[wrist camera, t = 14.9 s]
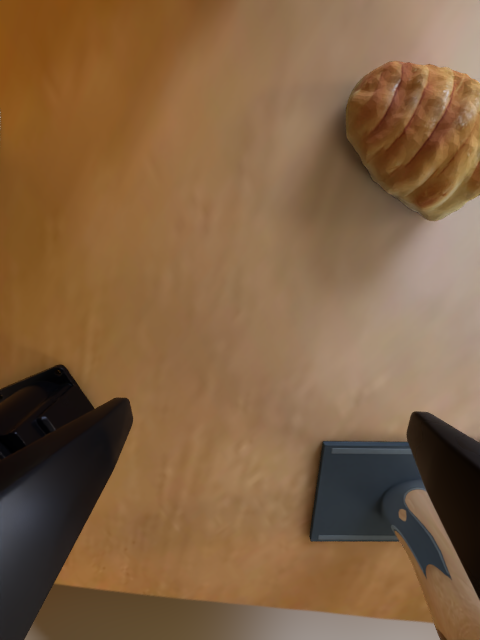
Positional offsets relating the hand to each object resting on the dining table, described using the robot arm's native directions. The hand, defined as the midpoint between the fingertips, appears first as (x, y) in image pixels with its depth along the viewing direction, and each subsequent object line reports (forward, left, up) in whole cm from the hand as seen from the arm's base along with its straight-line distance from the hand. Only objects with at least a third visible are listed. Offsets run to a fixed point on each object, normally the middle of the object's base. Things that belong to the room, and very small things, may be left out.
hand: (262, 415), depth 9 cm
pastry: (+14, +6, -13) cm, 19 cm away
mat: (+8, -23, -12) cm, 28 cm away
